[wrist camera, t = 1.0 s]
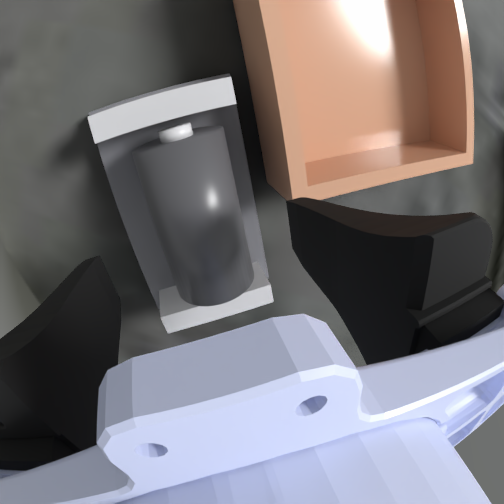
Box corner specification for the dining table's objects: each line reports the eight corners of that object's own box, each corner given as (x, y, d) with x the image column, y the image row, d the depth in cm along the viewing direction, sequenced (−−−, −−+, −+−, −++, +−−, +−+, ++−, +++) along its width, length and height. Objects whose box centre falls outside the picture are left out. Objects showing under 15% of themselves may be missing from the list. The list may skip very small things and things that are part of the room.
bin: (432, 148, 20) (472, 163, 16) (267, 182, 18) (293, 206, 15) (413, -21, 13) (454, -29, 10) (225, -34, 11) (243, -64, 8)
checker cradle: (264, 269, 21) (282, 301, 18) (158, 300, 20) (160, 338, 17) (226, 74, 15) (242, 70, 12) (92, 111, 14) (75, 116, 11)
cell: (236, 250, 19) (267, 284, 15) (171, 276, 18) (189, 317, 14) (205, 114, 15) (235, 116, 11) (126, 137, 14) (131, 146, 10)
